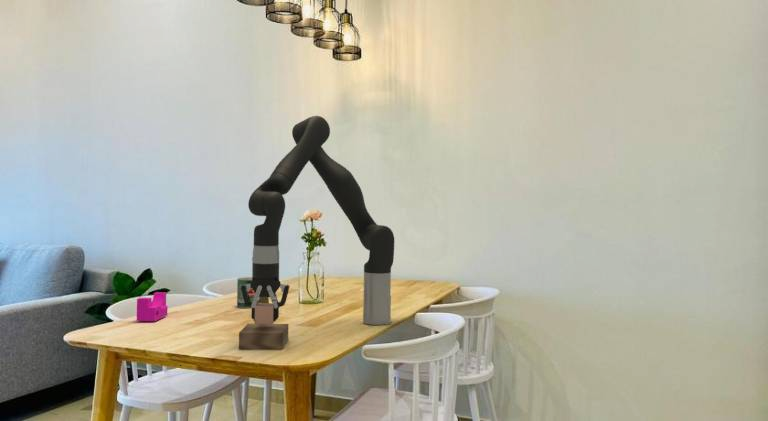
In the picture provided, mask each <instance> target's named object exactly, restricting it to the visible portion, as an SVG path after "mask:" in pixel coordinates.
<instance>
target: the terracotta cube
mask: <svg viewBox="0 0 768 421" xmlns="http://www.w3.org/2000/svg"><path fill="white" fill-rule="evenodd" d="M273 311H274V306H273V303H272V302H269V303H258V304H257V305H256V306H255V321H254V324H275V321H273Z"/></svg>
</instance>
